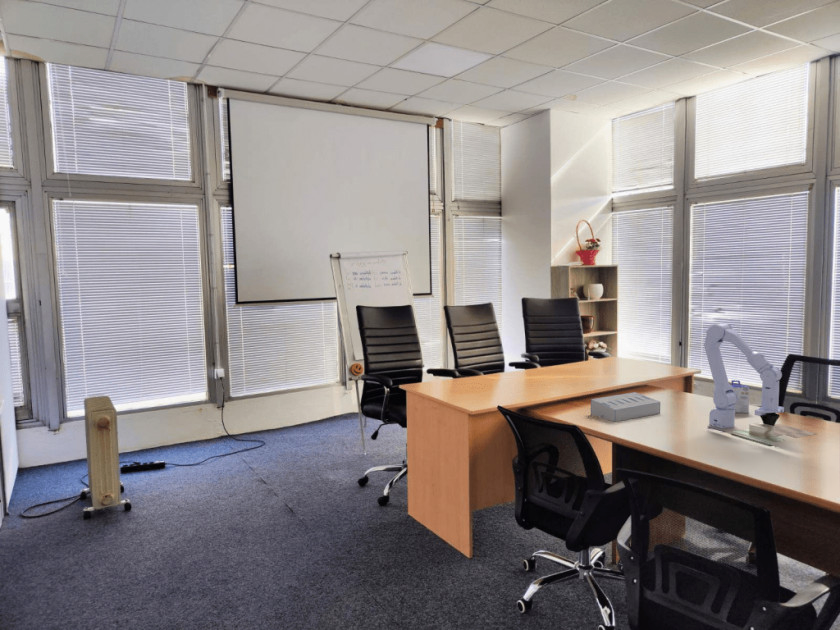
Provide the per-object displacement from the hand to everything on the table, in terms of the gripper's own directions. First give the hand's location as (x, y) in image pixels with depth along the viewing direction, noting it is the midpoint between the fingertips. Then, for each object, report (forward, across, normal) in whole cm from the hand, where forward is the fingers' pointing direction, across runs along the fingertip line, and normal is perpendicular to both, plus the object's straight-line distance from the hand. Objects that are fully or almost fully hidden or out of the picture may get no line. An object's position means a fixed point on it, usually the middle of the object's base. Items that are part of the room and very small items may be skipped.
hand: (768, 431), depth 221 cm
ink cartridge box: (+3, +26, +34) cm, 43 cm away
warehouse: (+3, -25, +52) cm, 57 cm away
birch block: (+1, -5, 0) cm, 5 cm away
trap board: (+2, +3, 0) cm, 4 cm away
